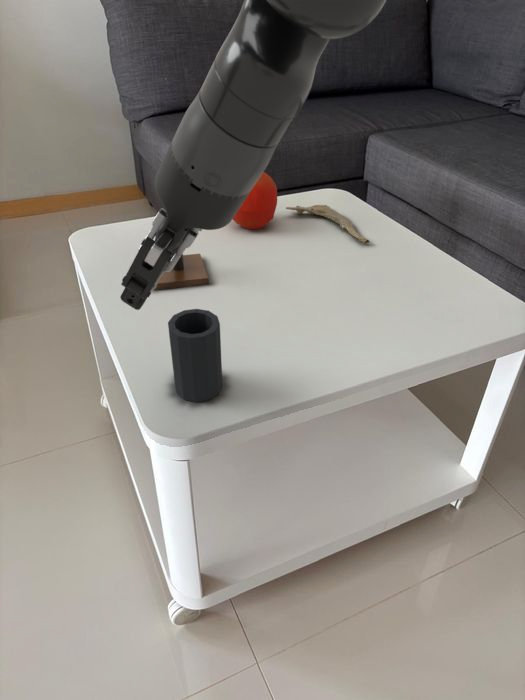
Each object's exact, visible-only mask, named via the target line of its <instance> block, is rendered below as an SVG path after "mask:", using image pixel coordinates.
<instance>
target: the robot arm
mask: <svg viewBox="0 0 525 700" xmlns="http://www.w3.org/2000/svg"><path fill="white" fill-rule="evenodd" d="M386 2H387V0H243V2H242V6H241V9H240V11H239V14H238V16H237V18H236V20H235V22H234V24H233V26H232V27H231V30H230V31H229V32H228V35H227V36H226V38H225V40H224V41H223V43H222V45H221V47H220V48H219V50H218V52H217V54H216V55H215V58H214V60H213V62H212V64H211V67H210V69H209V71H208V72H207V75H206V77H205V79H204V81H203V83H202V85H201V88H200V89H199V91H198V93H197V94H196V96H195V97H194V99H193V101H192V102H191V103H190V104H189V106H188V108H187V109H186V111H185V112H184V115H183V117H182V119H181V121H180V123H179V124H178V127H177V129H176V132H175V134H174V135H173V137H172V140H171V142H170V144H169V146H168V149H167V150H166V152H165V154H164V157H163V158H162V161H161V164H160V165H159V167H158V169H157V171H156V174H155V177H154V189H155V192H156V193H155V194H156V195H157V197H158V199H159V201H160V203H161V205H162V206H163V207H160V209H159V210H158V212H157V213H156V215H155V217H154V218H153V220H152V221H151V222H152V224H151V225H152V227H151V228H150V230H149V232H148V233H147V234H146V236H145V238H143V240H142V241H141V243H140V246H139V247H138V249H137V250H138V251H137V253H136V255H135V257H134V259H133V261H132V263H131V265H130V266H129V268H128V270H127V272H126V275H124V276H123V278H122V280H121V281H122V282H121V284H120V285H121V286H122V287H124V289H123V290H122V293H121V295H120V300H121V302H123V303H124V304H126V305H128V306H129V307H131V308H132V309H134V310H137V311H140V310H141V309H142V307H143V305H144V304H145V302H146V301H147V299H148V298H149V297H150V296H151V295H152V292H153V290H155V288H156V287H157V282H158V281H159V279H160V278H161V276H162V275H163V273H164V272H170V271H171V270H172V269H173V268H174V266H175V265H176V263H177V261H178V260H179V258H180V257H181V255H182V254H183V255H184V252H185V250H186V249H188V248H191V246H192V245H193V243H194V242H195V241H196V239H197V237H198V236H199V234H200V233H199V232H202V231H204V230H206V231H214V230H215V231H216V230H220V229H223V228H224V227H226V226H227V225H229V224H230V223H231V222H232V221H233V217H234V216H235V214H236V213H237V211H238V210H239V208H240V207H241V205H242V204H243V202H244V201H245V199H246V198H247V196H248V195H249V193H250V192H251V190H252V189H253V187H254V185H255V184H256V182H257V181H258V179H259V178H260V176H261V175H262V173H263V172H265V171H266V168H267V167H268V165H269V163H270V161H271V160H272V157H273V155H274V153H275V151H276V149H277V147H278V145H279V143H280V142H281V140H282V139H283V138H284V136H285V135H286V133H287V131H288V130H289V128H290V127H291V125H292V123H293V122H294V120H295V119H296V117H297V116H298V114H299V113H300V112H301V109H302V107H303V106H304V104H305V103H306V101H307V99H308V97H309V95H310V93H311V90H312V87H313V86H314V85H313V84H314V82H315V76H316V72H317V68H318V64H319V61H320V60H321V59H320V58H321V57H322V54H323V53H324V51H325V49H326V47H327V45H328V44H329V42H330V40H338V39H344V38H347V37H350V36H353V35H355V34H358V33H359V32H361V31H362V30H364V29H365V28H367V27H368V26H369V25H371V23H372V22H373V21H374V20H375V19H376V18H377V16H378V15H379V14H380V12H382V9H383V7H384V6H385V5H386Z"/></svg>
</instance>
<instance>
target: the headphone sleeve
mask: <svg viewBox="0 0 525 700" xmlns="http://www.w3.org/2000/svg"><path fill="white" fill-rule="evenodd" d="M167 328H168V336H169V337H168V338H169V345H170V354H171V362H172V369H173V370H172V372H173V380H174V389H175V393H176V395H177V396H179V397H180V398H181V399H183V400H184V401H187V402H188V401H189V402H193V403H200V402H207V401H210V400H211V399H213V398H215V397H217V396H218V395H219V394H220V392H221V391H222V389H223V367H222V366H223V365H222V342H221V340H222V339H221V323H220V320H219V317H218V315H217V314H215V313H213V312H211V310H206V309H200V308H192V309H191V308H190V309H184V310H182V311H179V312H177V313H175V314H173V315H172V316H171V317H170V319H169V320H168V322H167Z"/></svg>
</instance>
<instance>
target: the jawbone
mask: <svg viewBox="0 0 525 700" xmlns="http://www.w3.org/2000/svg"><path fill="white" fill-rule="evenodd" d="M285 210H290V211H296V215H301V214H303V213H305V212H308V213H310V214H314V215H316V216H321V217H324V218H326V219H328V220H330V221H333V222H335V224H338V225H339V226H340V227H341V228H342V229H345V230H347V232H348V233H349V234H350V235H351V236H353V237H354V238H356V239H357V240H358V241H359V242H360V243H364V244H368V243H371V242H370V240H369V239H368V238H366V237H365V236H363V235H362V234H359V232H358V231H356V228H355V227H354V224H353V223H352V222H351V221H350V220H349V219H348V218H346V217H345V216H344V215H343V214H340V213H339V212H338V211H336V210H335V209H333V208H331V207H330V206H329V205H327V204H315V205H311V206H306V207H304V206H300V205H296V206H286V207H285Z"/></svg>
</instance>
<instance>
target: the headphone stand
mask: <svg viewBox="0 0 525 700" xmlns="http://www.w3.org/2000/svg"><path fill="white" fill-rule="evenodd" d="M202 285H209V276H208V272H207V270H206V267H205V264H204V260H203V257H202V255H201V253H192V254H184V253H183V254H182V255H181V257H180V258H179V260H178V261H177V263H176V265H175V266H174V268H173V269H172V270H171V271H170V272H164V273H163V275H162V276H161V278H160V279H159V281H158V282H157V287H156V288H155V289H154V291H159V290H167V289H177V288H184V287H185V288H186V287H193V286H202Z"/></svg>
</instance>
